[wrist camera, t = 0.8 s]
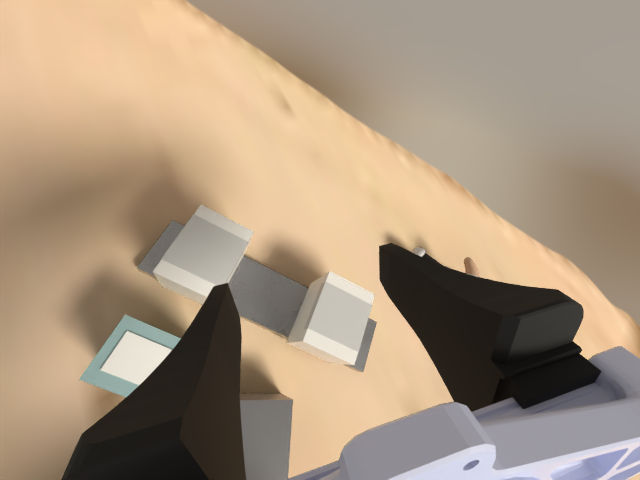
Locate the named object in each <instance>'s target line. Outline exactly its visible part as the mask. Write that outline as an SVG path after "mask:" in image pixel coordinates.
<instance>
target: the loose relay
mask: <svg viewBox="0 0 640 480" xmlns="http://www.w3.org/2000/svg"><path fill="white" fill-rule="evenodd" d="M292 405H293V400H292V399H290V398H289V397H287V396H285V395H283V394H281V393H249V394H240V409H241V424H242V438H243V450H244V461H245V473H246V480H286V479H288V469H289V453H290V437H291V421H292Z"/></svg>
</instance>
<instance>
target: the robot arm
mask: <svg viewBox="0 0 640 480" xmlns="http://www.w3.org/2000/svg"><path fill="white" fill-rule="evenodd" d="M379 265H380V281H381V283H382V285H383V287H384V289H385V291H386V293H387V294H388V296H389V298H390V299H391V300H392V302H393V303H394V304H395V306H396V307H397V309H398V310H399V311H400V313H401V314H402V315H403V317H404V318H405V319H406V321H407V322H408V323H409V325H410V326H411V327H412V329H413V330H414V331H415V333H416V334H417V336H418V337H419V339H420V340H421V342H422V344H423V346H424V347H425V349H426V351H427V352H428V354H429V356H430V357H431V359H432V361H433V363H434V365H435V366H436V368H437V370H438V372H439V374H440V375H441V377H442V379H443V381H444V383H445V385H446V387H447V389H448V391H449V393H450V394H451V396H452V398H453V400H454V402H449V403H444V404H439V405H436V406H433V407H431V408H428V409H425V410H422V411H419V412H416V413H414V414H411V415H408V416H405V417H402V418H399V419H397V420H394V421H391V422H388V423H385V424H382V425H380V426H377V427H374V428H371V429H369V430H367V431H365V432H363V433H361V434H359V435H357V436H355V437H354V438H352V439H351V440H350V441H349V442H348V443H347V444H346V445H345V446H344V447H343V450H342V452H341V455H340V459H339V460H338V461H336V462H333V463H330V464H327V465H325V466H322V467H319V468H317V469H314V470H311V471H308V472H306V473H303V474H300V475H297V476H295V477H292V478H289V479H286V480H627V479H629V478H631V477H633V476H635V475H637V474H639V473H640V358H638V357H637V356H635V355H634V354H632V353H631V352H629V351H628V350H626V349H625V348H623V347H622V346H618V347H615V348H612V349H609V350H606V351H604V352H601V353H598V354H596V355H594V356H592V357H591V358H590V359H589V360H587V359H585V358H584V357H583V356H582V355H580V354H579V353H581V351H582V349H581V347H580V346H578V345H577V344H576V343H574V342H573V339H574V337H575V335H576V333H577V331H578V329H579V327H580V324H581V322H582V319H583V308H582V306H581V304H579V303H578V302H576V301H575V300H573V299H571V298H570V297H568V296H567V295H565V294H564V293H562V292H561V291H559V290H556V289H546V288H537V287H527V286H521V285H514V284H508V283H503V282H498V281H493V280H489V279H484V278H480V277H476V276H472V275H469V274H466V273H463V272H459V271H456V270H453V269H450V268H448V267H445V266H442V265H440V264H437V263H435V262H432V261H430V260H428V259H425V258H423V257H421V256H419V255H416V254H414V253H412V252H410V251H408V250H406V249H403V248H401V247H399V246H397V245H394V244H392V243H390V244H386V245H382V246H379ZM240 363H241V325H240V316H239V313H238V310H237V307H236V305H235V302H234V299H233V296H232V293H231V290H230V288H229V285H228V283H225V284H221V285H216V286H214V287H213V288H212V290H211V291H210V293H209V295H208V297H207V298H206V300H205V302H204V304H203V305H202V307H201V309H200V310H199V312H198V314H197V315H196V317H195V319H194V320H193V322H192V323H191V325H190V326H189V328H188V329H187V331H186V332H185V334H184V335H183V336H182V338H181V339H180V341H179V342H178V343H177V345H176V346H175V347H174V348H173V350H172V351H171V352H170V353H169V354H168V356H167V357H166V358H165V359H164V360H163V361H162V362H161V363H160V364H159V365H158V367H157V368H156V369H155V370H154V371H153V372H152V373H151V374H150V375H149V376H148V377H147V378H146V379H145V380H144V381H143V382H142V383H141V384H140V385H139V386H138V387H137V388H136V389H135V390H134V391H133V392H132V393H130V394H129V395H128V396H127V397H126V398H125V399H124V400H123V401H122V402H120V403H119V404H118V405H117V406H116V407H115V408H114V409H112V410H111V411H110V412H109V413H107V414H106V415H105V416H104V417H102V418H101V419H100V420H99V421H98V422H96V423H95V424H94V425H93V426H91V427H90V428H89V429H88V430H86V431H85V432H84V433H83V434H82V435H81V437H80V439H79V441H78V444H77V446H76V448H75V450H74V452H73V454H72V457H71V459H70V461H69V463H68V466H67V468H66V470H65V473H64V475H63V477H62V480H246V473H245V461H244V450H243V438H242V424H241V409H240Z"/></svg>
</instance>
